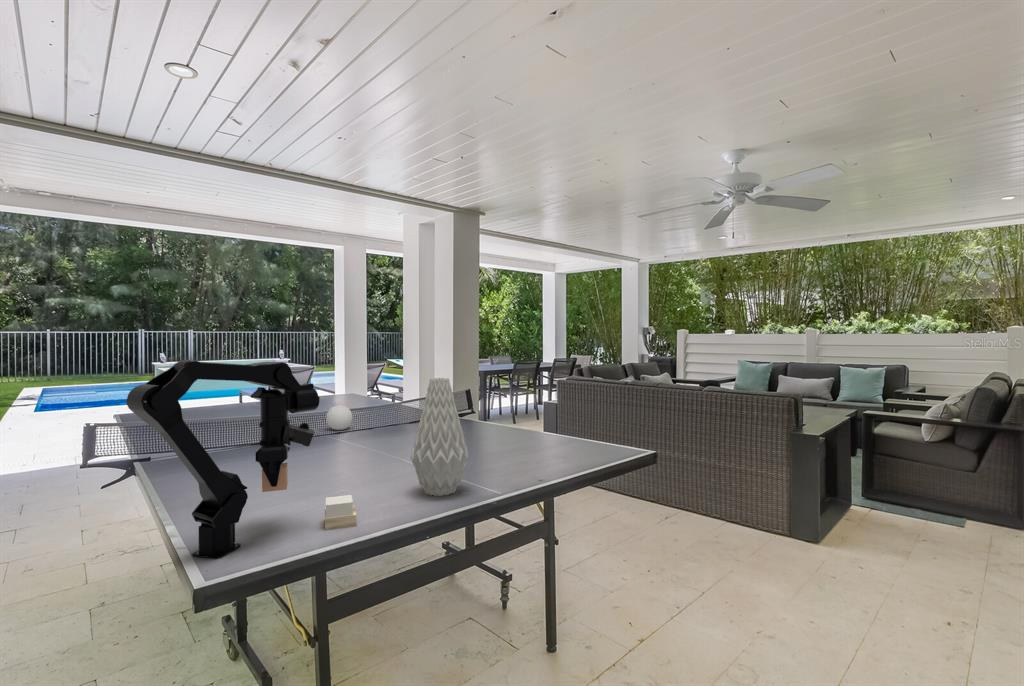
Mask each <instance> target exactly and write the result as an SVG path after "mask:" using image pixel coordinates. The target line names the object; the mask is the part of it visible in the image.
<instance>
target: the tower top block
mask: <svg viewBox="0 0 1024 686" xmlns="http://www.w3.org/2000/svg"><path fill="white" fill-rule="evenodd" d="M353 503H354V502H353V496H352V494H349V495H339V496H329V497H325V509H326V518H331V517H339V516H348V515H353V506H354V504H353Z"/></svg>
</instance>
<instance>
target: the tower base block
mask: <svg viewBox="0 0 1024 686" xmlns="http://www.w3.org/2000/svg"><path fill="white" fill-rule="evenodd" d="M324 525H325V526H324V530H325V531H326V530H334V529H342V528H350V527H357V510H356V506H355V505H353V515H348V516H339V517H331V518H326V508H325V509H324Z"/></svg>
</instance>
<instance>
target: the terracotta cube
mask: <svg viewBox="0 0 1024 686" xmlns="http://www.w3.org/2000/svg"><path fill="white" fill-rule="evenodd" d="M288 476H289V475H288V462H283V463H282V464H281V467H280V472H279V477H278V483H277V486H276V487H272V486H271V485H270V483H269V481H268V479H267V477H266V475H265V473H264V471H263V469H261V492H262V493H266V492H274V491H275V492H277V491H285V490H287V489H288V485H289V484H288V483H289V482H288V481H289V480H288Z"/></svg>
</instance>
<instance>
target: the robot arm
mask: <svg viewBox="0 0 1024 686" xmlns="http://www.w3.org/2000/svg"><path fill="white" fill-rule="evenodd" d="M198 380H208V381H211V380H212V381H234V382H239V381H240V382H246V383H249V384H254V385H258V387H257V388H256V390H255V391H253V392H252V393H251V395H250V398H251V399H258V400H259V399H260V401H259V402H260V422H259V428H260V440H259V447H258V448H257V450H256V452H255V463H256V462H257V463H258V464H259V466H260V468H262V469H263V471H264V473H265V475H266V477H267V479H268V481H269V483H270V485H271V486H272V487H276V486H277V483H278V477H279V472H280V467H281V464H282V463H285V461H286V460H287V459H288V457H289V451H290V449H291V447H289V446H291V445H292V443H296V444H299V445H300V444H301V445H302V446H304V447H310V446H311V443H312V440H313V437H314V435H315V431H314V429H310V424H309V423H307V422H303V421H302V422H300V424H299V425H297V424H295V425H294V424H291V420H290V419H289V413H291V414H296V413H297V414H298V413H304V412H310V411H312V412H313V411H315V410H317V408H319V404H320V396H319V393H318V392H317V390H316V389H315V388H314V383H309V382H308V383H302V384H300V383H299V381H298V380H297V379H296V377H295V376H294V374H293V372H292V369H291V367H290V366H289V363H286V362H282V361H260V362H253V363H246V364H242V363H241V364H240V363H239V364H238V363H237V364H236V363H224V362H222V363H221V362H206V361H199V360H195V359H194V360H193V359H181V360H179V361H177V362H175V364H174V365H172V366H171V367H169V368H168V369H167V370H165V371H163V372H161V373H159V374H158V375H156V376H154V377H152V378H151V379H150V380H149V381H147V382H146V383H144V384H139V385H136V386H135V387H133V388H132V389H131V390H130V391H129V393H128V394H127V398H126V402H125V404H126V405H127V407H128V409H129V411H131V412H132V413H134V415H136V416H137V417H138V418H139V419H140V420H142V421H143V422H145V423H146V424H147V425H149V426H150V427H152V428H153V429H155V430H156V431H157V432H158V433H159V435H161V437H162V438H163V439H164V440H165V442H166V443H167V444H168V446H169V447H170V448H171V449H172V451H173V452H174V453H175V455H176V456H177V457H178V458H179V460H180V461H181V462H182V463H183V465H184V466H185V467H186V469H187V470H188V471H189V472H190V474H191V475H192V476H193V478H194V479H195V480H196V482H197V484H198V488H199V495H200V496H201V499H202V500H201V501H200V503H199V504H198V505H197V506H196V507H195V508H194V510H192V512H191V515H192V518H193V519H194V520H193V521H194V522H196V523H200V525H199V526H198V550H196V551H194V552H192V555H191V556H192V557H199V558H200V557H202V558H210V559H219V558H222V557H224V556H226V555H228V554H229V553H231V552H233V551H235V550H237V549H238V548H240V547H241V545H242V544H241V543H239V542H238V543H237V542H236V524H237V523H239V521H240V519H241V516H242V513H243V509H244V508H245V506H246V504H247V500H248V498H249V496H248V493H247V491H246V490H247V489H248V486H246V485H244V484H243V482H242V481H241V477H240V476H239V475H238V474H237V473H233V472H228V471H225V470H220V468H219V467H218V465H217V464H216V463H215V461H214V460H213V459H212V457H211V456H210V454H209V453H208V452H207V450H206V449H205V448H204V446H203V445H202V443H201V442H200V441H199V440H198V438H197V437H196V435H195V433H194V432H192V430H191V429H190V427H189V426H188V424H187V423H186V422H185V420H184V417H183V411H182V409H183V408H182V406H181V404H180V402H179V400H180V399H181V398H182V397H183V396H185V394H187V392H188V391H189V390H190V388H191V387H192V386H193V384H194V383H195V382H196V381H198ZM265 387H270V388H272V389H267V388H265ZM282 390H283V392H282ZM288 412H289V413H288ZM287 445H288V446H287ZM262 469H261V470H262Z"/></svg>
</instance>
